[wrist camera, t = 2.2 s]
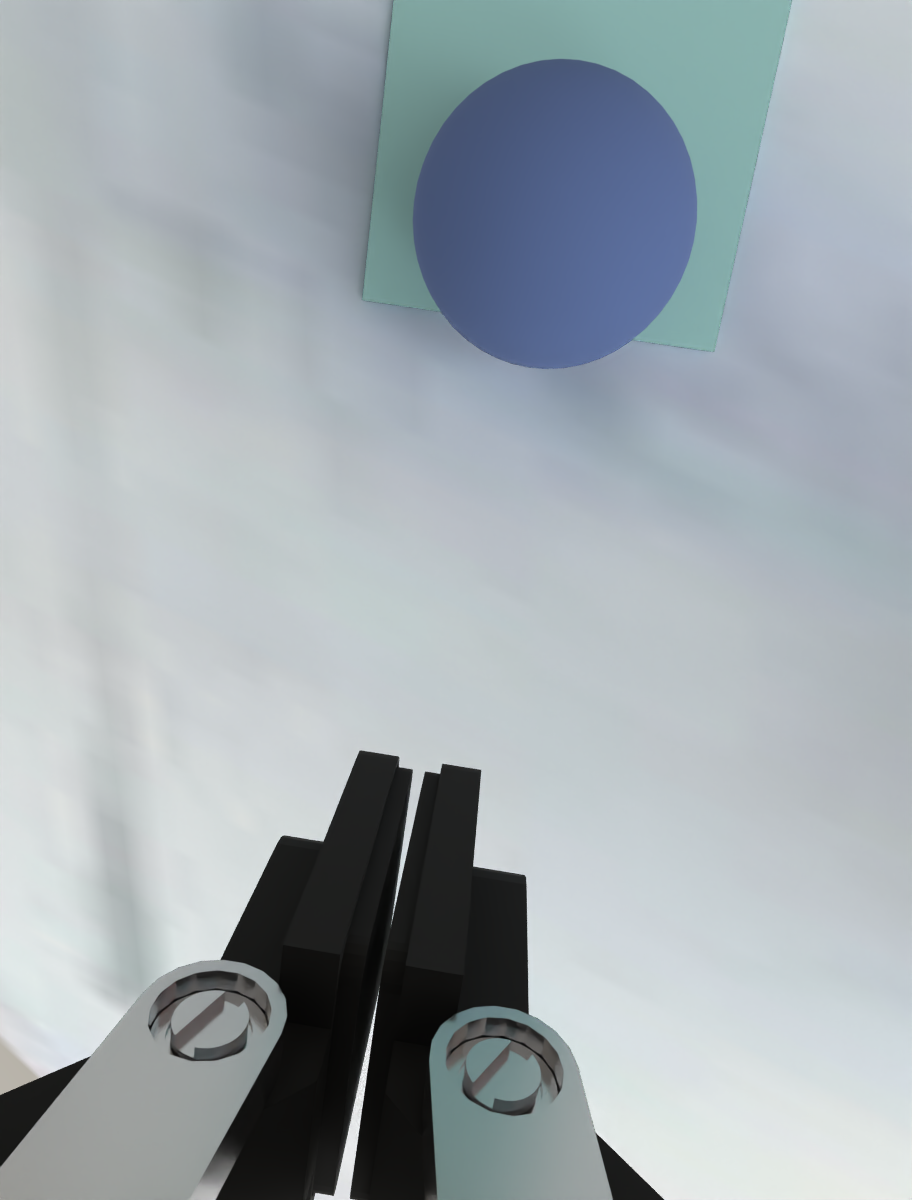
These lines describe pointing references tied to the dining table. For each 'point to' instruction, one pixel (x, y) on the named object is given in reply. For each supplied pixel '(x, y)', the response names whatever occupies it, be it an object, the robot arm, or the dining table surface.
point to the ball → (555, 213)
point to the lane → (612, 39)
